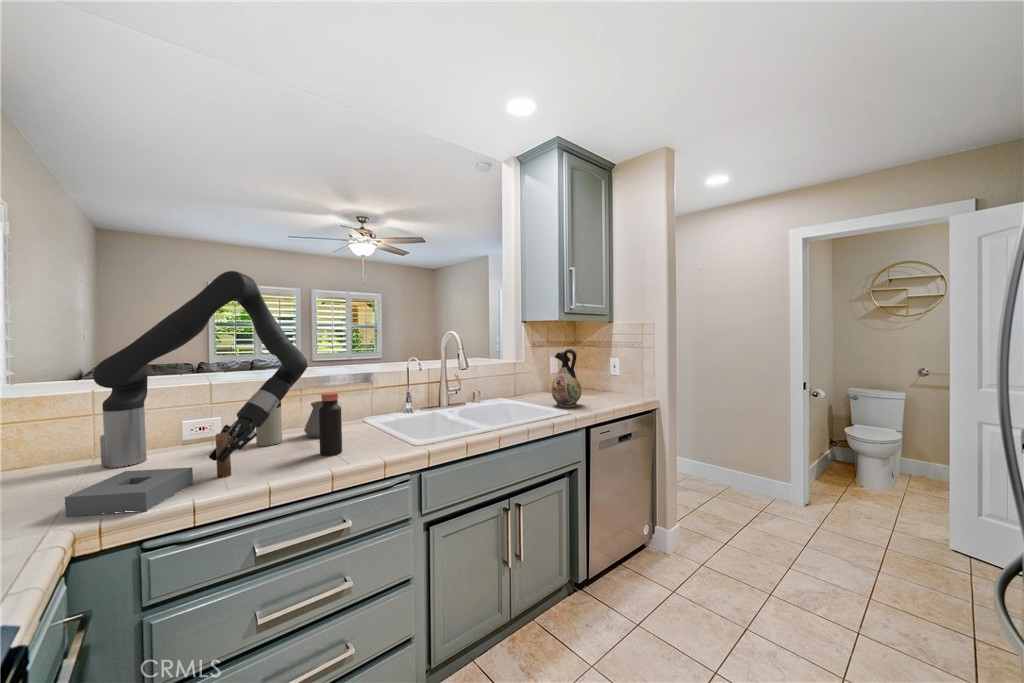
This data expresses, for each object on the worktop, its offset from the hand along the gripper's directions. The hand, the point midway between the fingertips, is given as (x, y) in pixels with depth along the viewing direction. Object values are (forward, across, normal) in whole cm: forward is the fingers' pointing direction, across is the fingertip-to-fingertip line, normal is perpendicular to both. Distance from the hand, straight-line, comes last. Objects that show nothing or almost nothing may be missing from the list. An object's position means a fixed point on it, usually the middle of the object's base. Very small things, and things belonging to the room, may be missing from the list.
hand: (215, 459), depth 109 cm
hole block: (+15, -3, -8) cm, 17 cm away
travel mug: (-15, -20, +23) cm, 34 cm away
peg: (+2, 0, +5) cm, 6 cm away
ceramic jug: (-91, +57, +99) cm, 147 cm away
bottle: (-17, +10, +24) cm, 31 cm away
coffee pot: (-25, -8, +33) cm, 43 cm away
